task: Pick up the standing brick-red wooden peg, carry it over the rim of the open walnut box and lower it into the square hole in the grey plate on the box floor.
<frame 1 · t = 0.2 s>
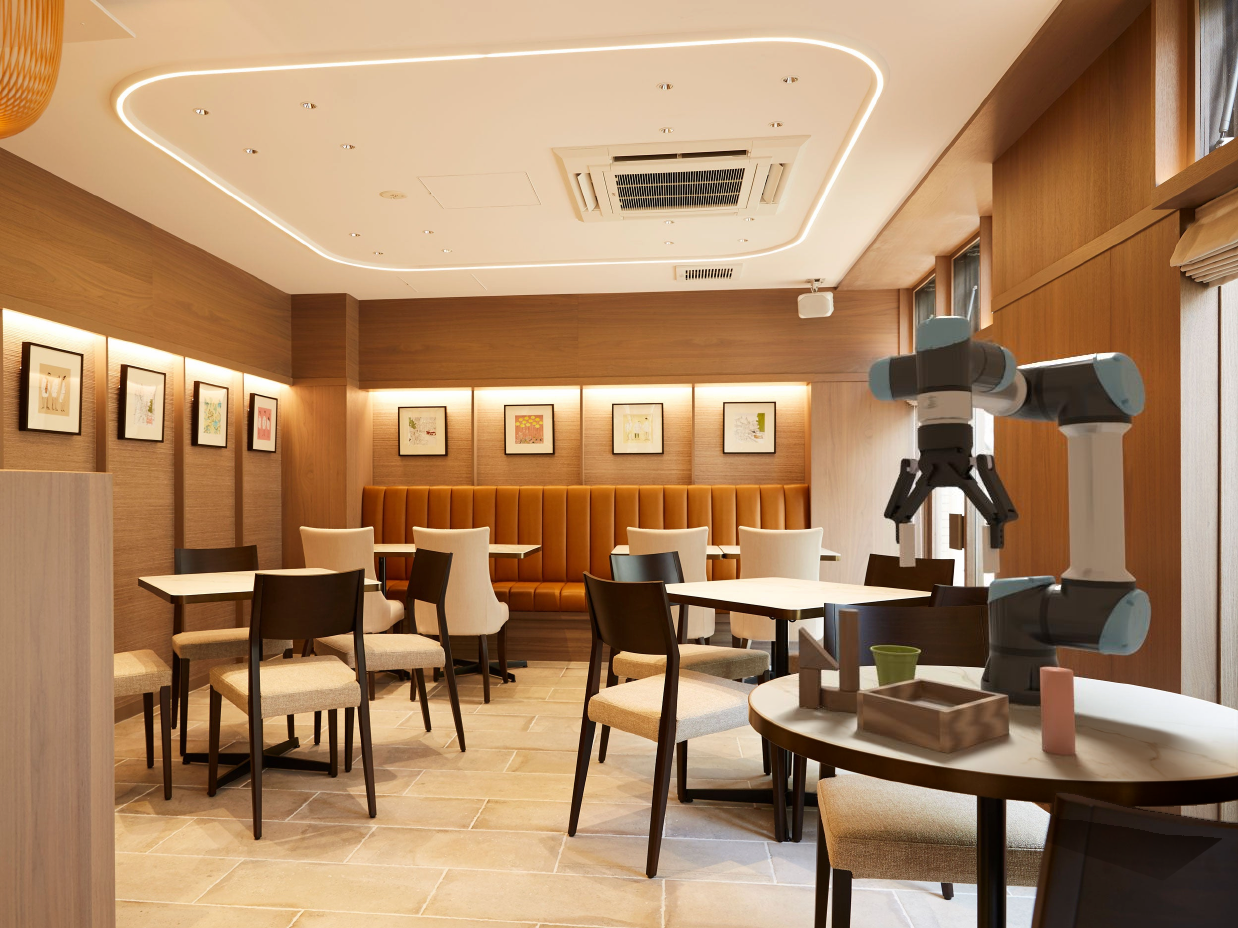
hand: (947, 569, 114), 27 cm above the table, tool pointing down, fingers open, 13 cm apart
peg: (1058, 750, 118), on the table
box: (932, 730, 128), on the table
plant pot: (895, 694, 154), on the table
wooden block: (830, 709, 142), on the table
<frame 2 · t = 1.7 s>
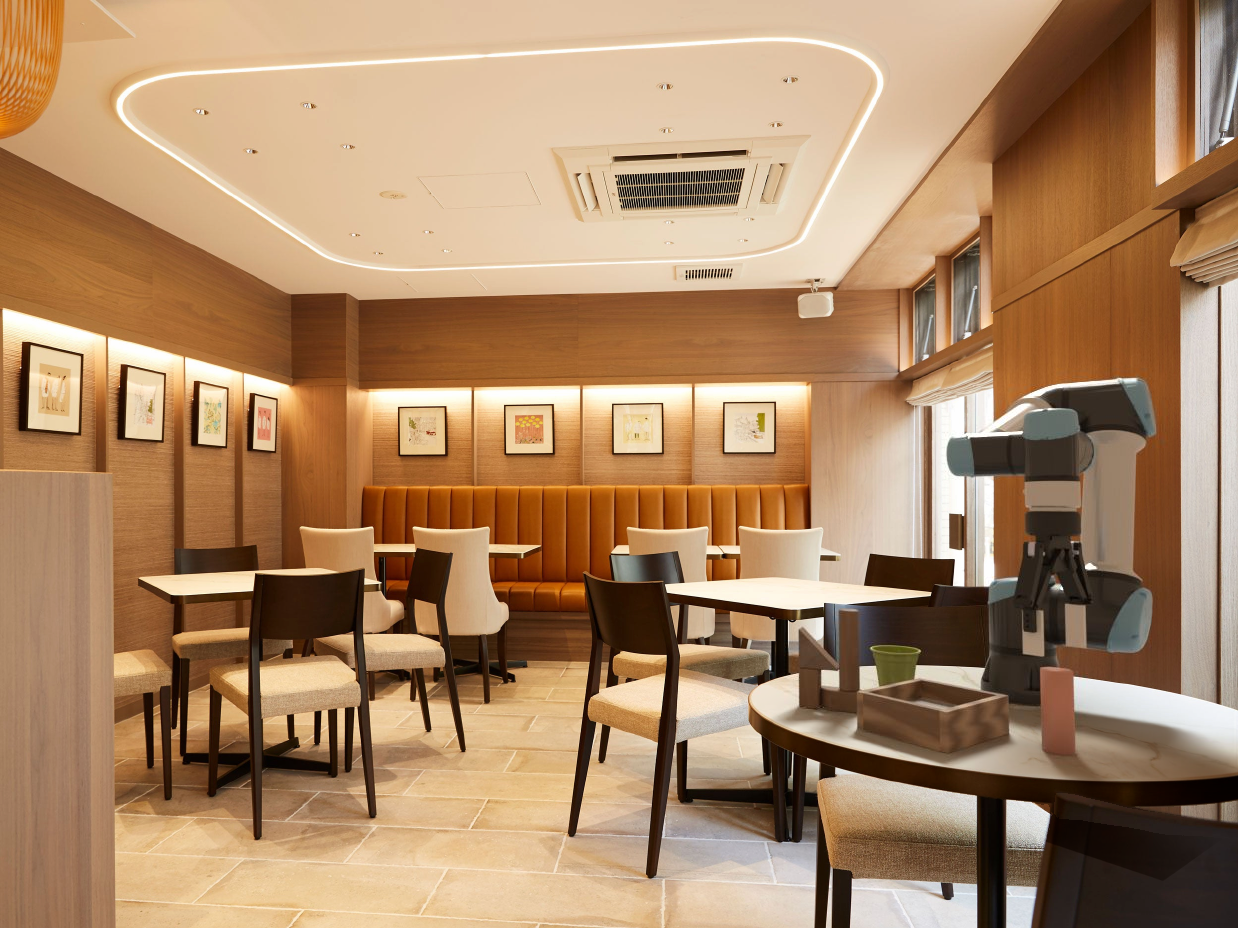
hand: (1055, 650, 119), 15 cm above the table, tool pointing down, fingers open, 13 cm apart
nothing on the table moved.
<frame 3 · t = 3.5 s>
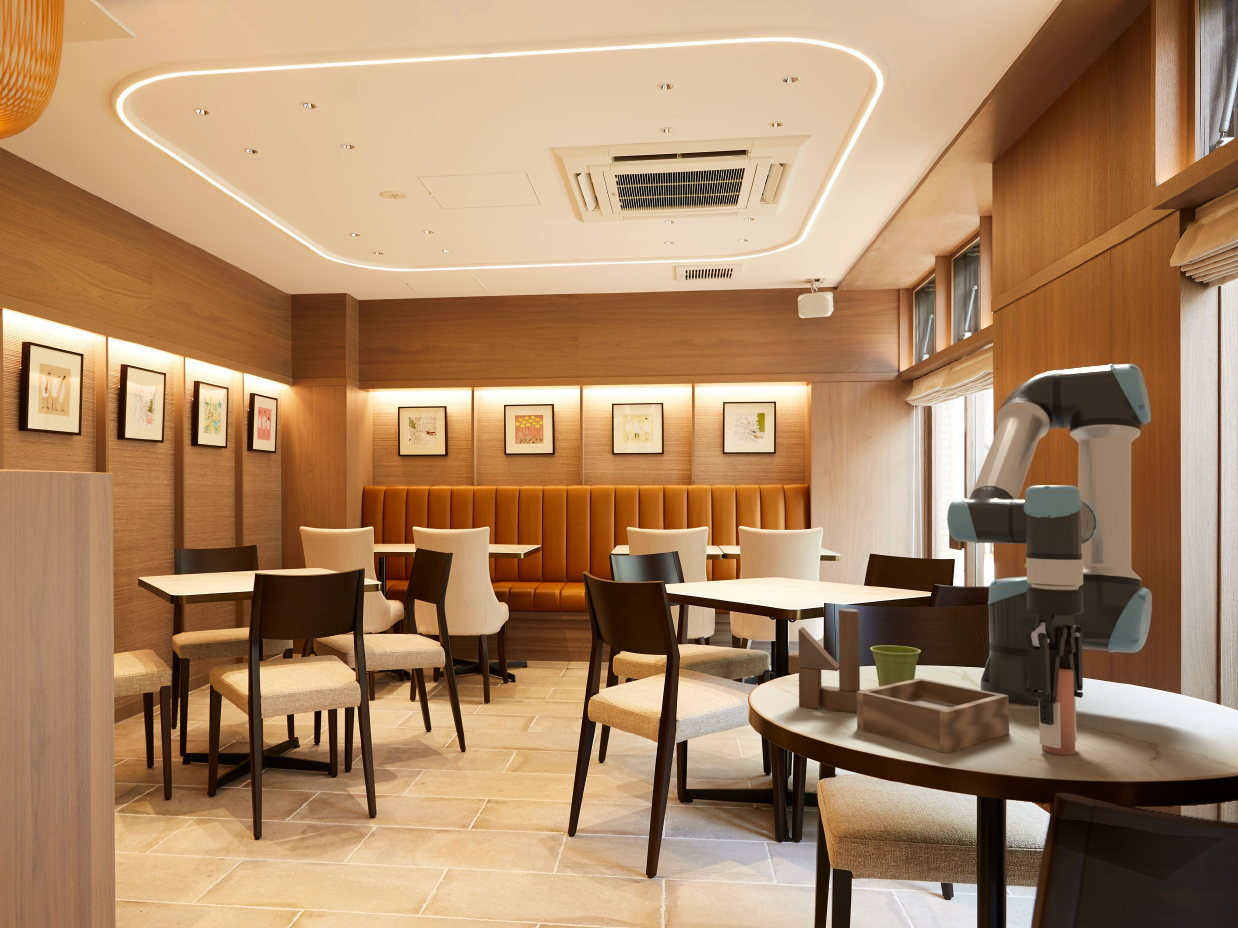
hand: (1058, 742, 118), 1 cm above the table, tool pointing down, fingers closed on peg, 4 cm apart
peg: (1058, 750, 118), on the table, touching gripper
everything else where it was.
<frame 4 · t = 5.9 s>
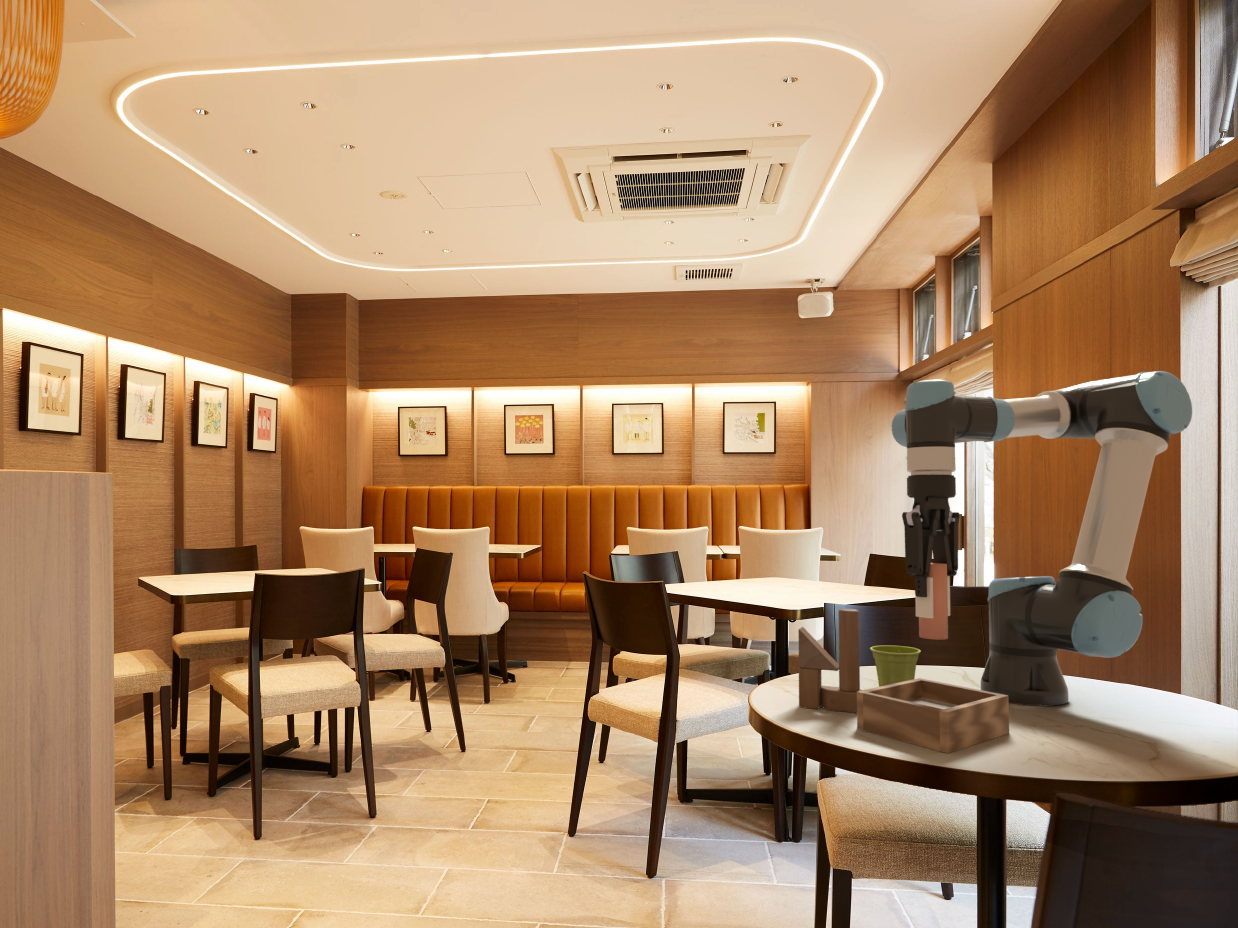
hand: (933, 615, 129), 19 cm above the table, tool pointing down, fingers closed on peg, 4 cm apart
peg: (933, 637, 129), point 15 cm above the table, touching gripper
everything else where it was.
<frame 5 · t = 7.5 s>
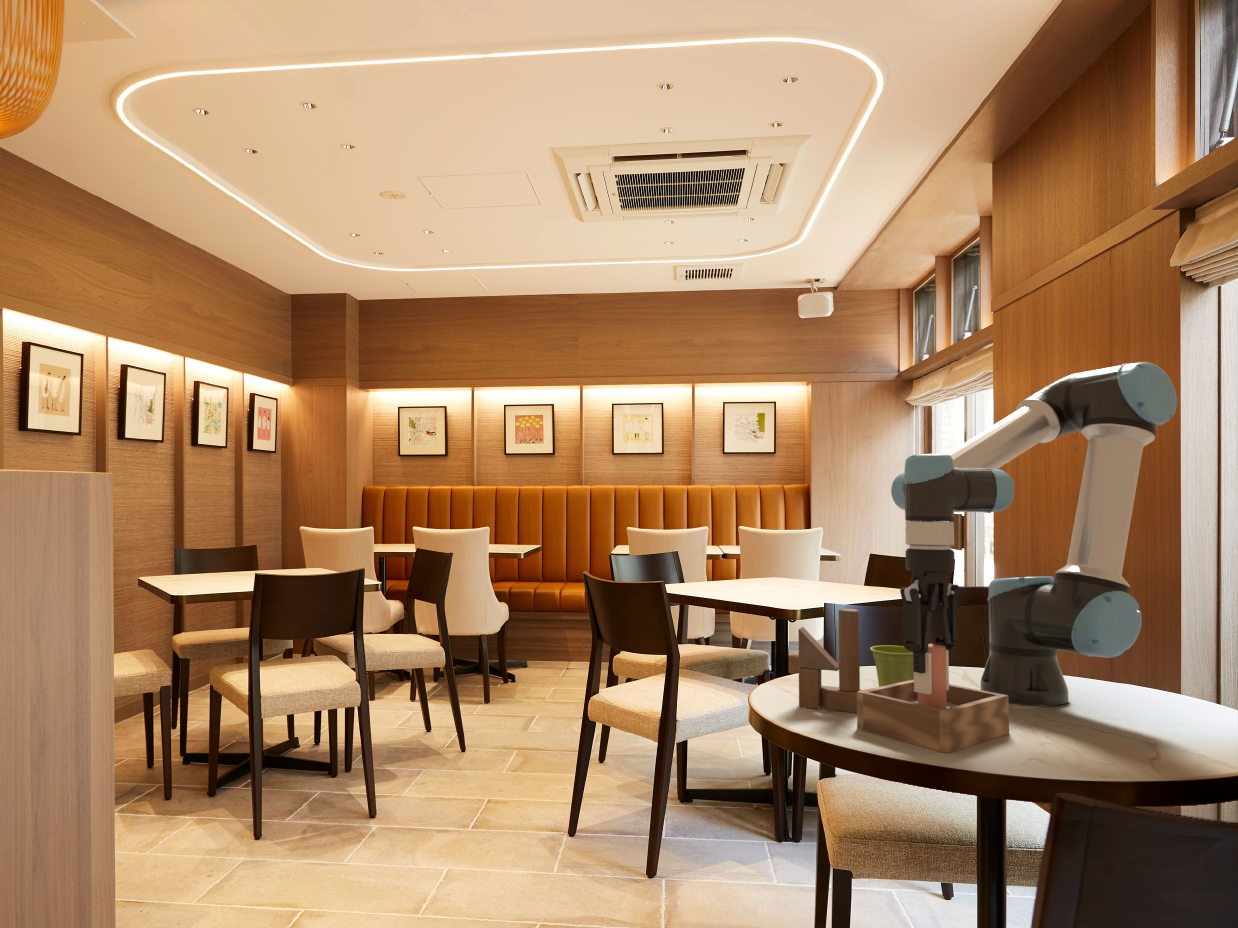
hand: (931, 690, 128), 7 cm above the table, tool pointing down, fingers closed on peg, 4 cm apart
peg: (932, 720, 128), point 2 cm above the table, touching gripper
everything else where it was.
when the fingers open (3 cm above the table, at t = 8.5 s): peg stays where it is, resting in box.
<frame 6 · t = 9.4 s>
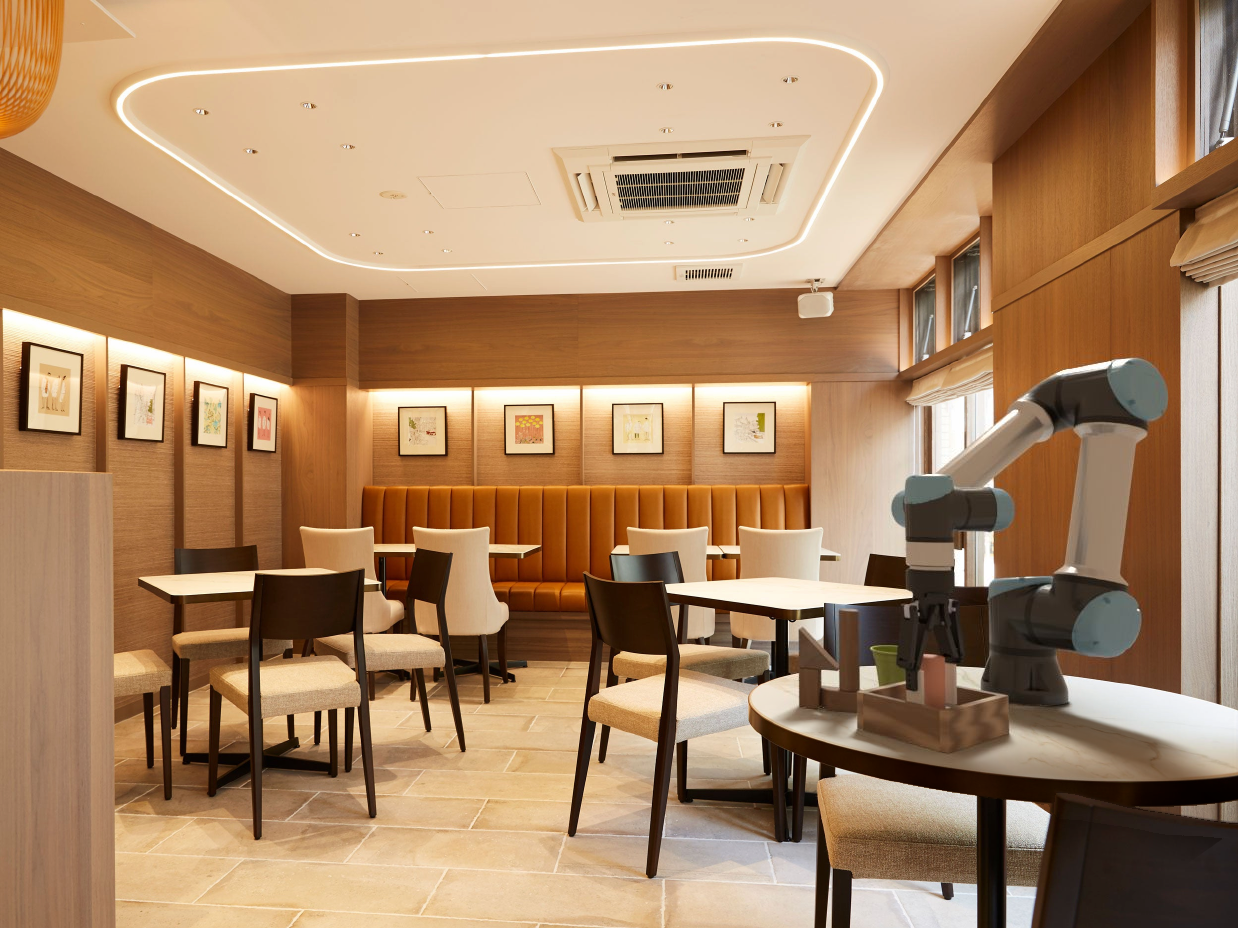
hand: (932, 706, 128), 4 cm above the table, tool pointing down, fingers open, 9 cm apart
peg: (931, 731, 128), resting in box
everything else where it was.
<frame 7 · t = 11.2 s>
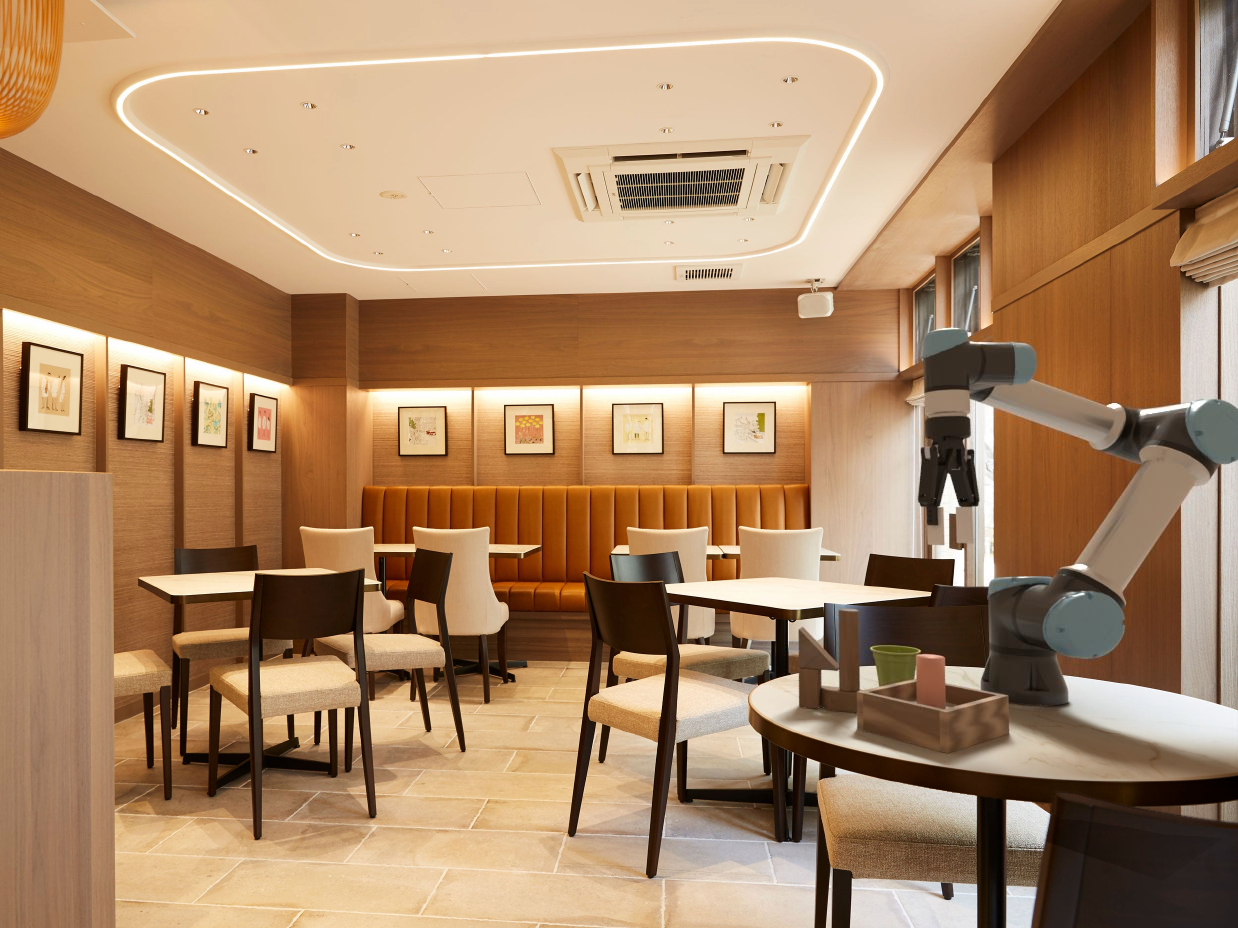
hand: (950, 543, 138), 30 cm above the table, tool pointing down, fingers open, 9 cm apart
nothing on the table moved.
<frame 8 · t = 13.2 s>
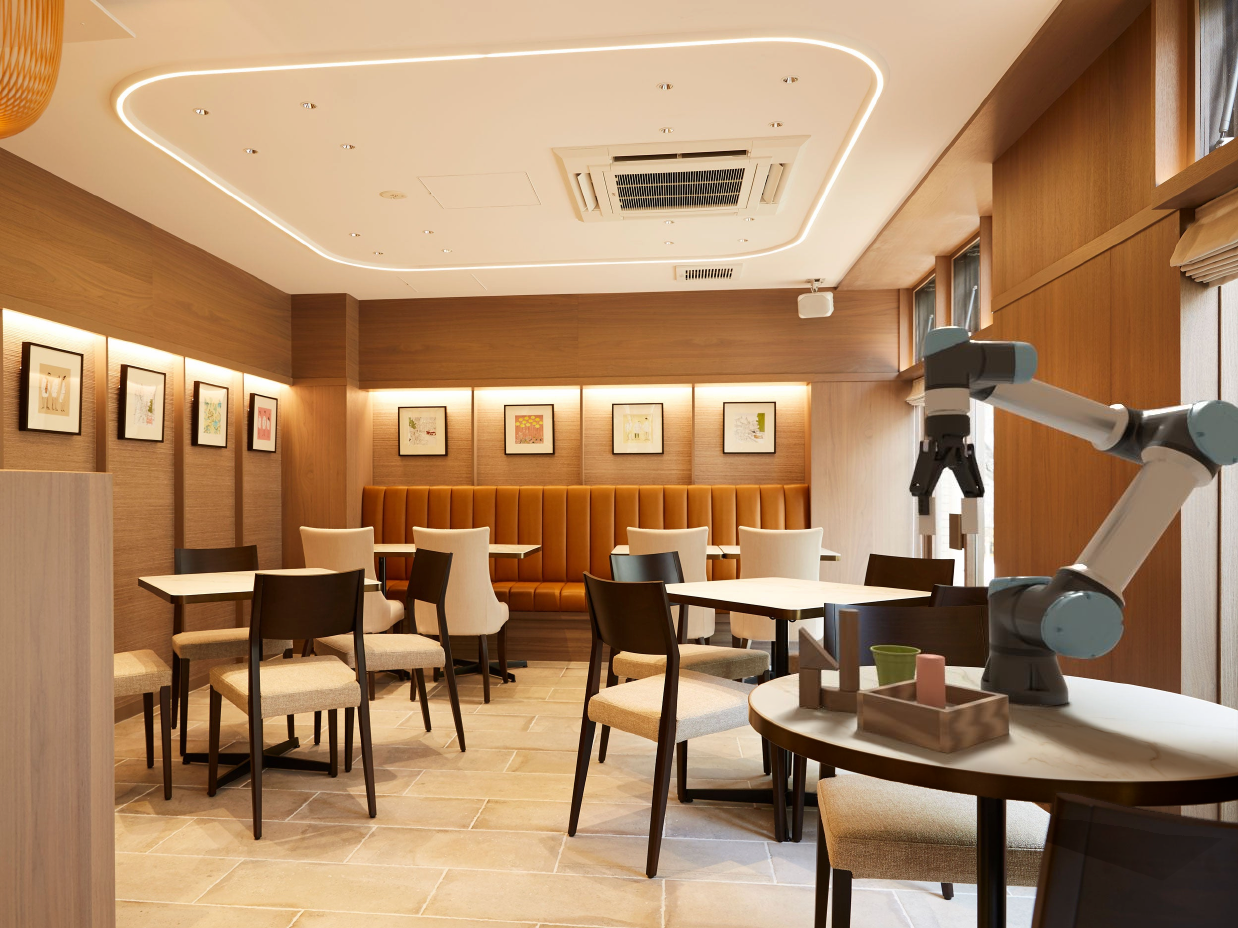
hand: (949, 534, 139), 32 cm above the table, tool pointing down, fingers open, 13 cm apart
nothing on the table moved.
at the end: peg 0.2 cm off-centre on the box, point 0.0 cm above the box's base; peg tilted 0°; the gripper is holding nothing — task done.
